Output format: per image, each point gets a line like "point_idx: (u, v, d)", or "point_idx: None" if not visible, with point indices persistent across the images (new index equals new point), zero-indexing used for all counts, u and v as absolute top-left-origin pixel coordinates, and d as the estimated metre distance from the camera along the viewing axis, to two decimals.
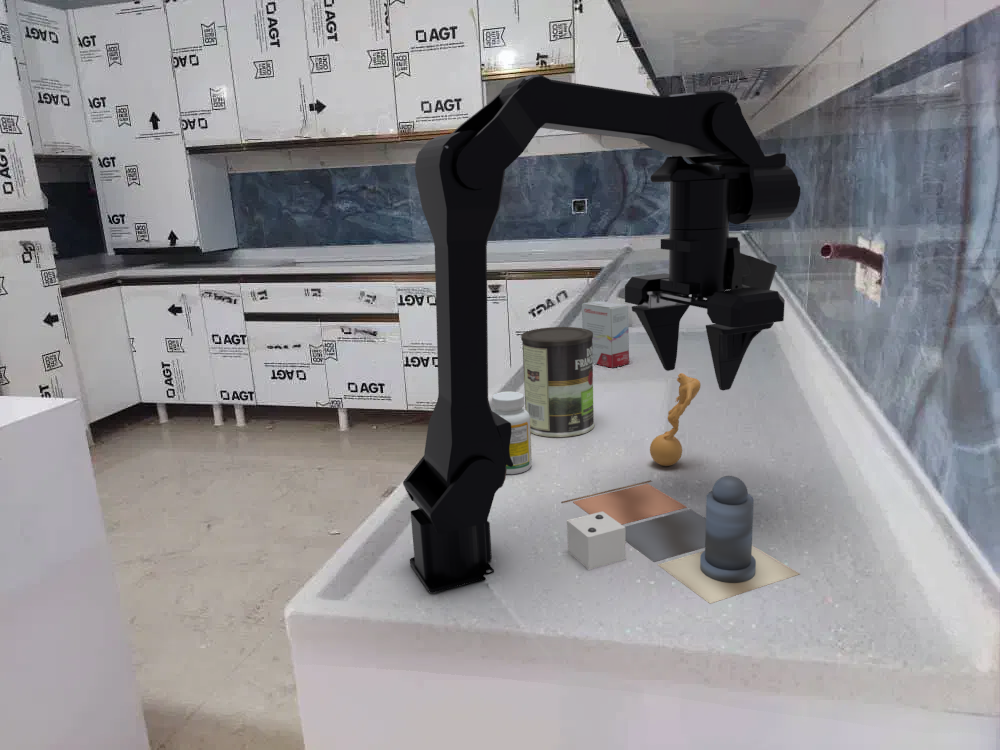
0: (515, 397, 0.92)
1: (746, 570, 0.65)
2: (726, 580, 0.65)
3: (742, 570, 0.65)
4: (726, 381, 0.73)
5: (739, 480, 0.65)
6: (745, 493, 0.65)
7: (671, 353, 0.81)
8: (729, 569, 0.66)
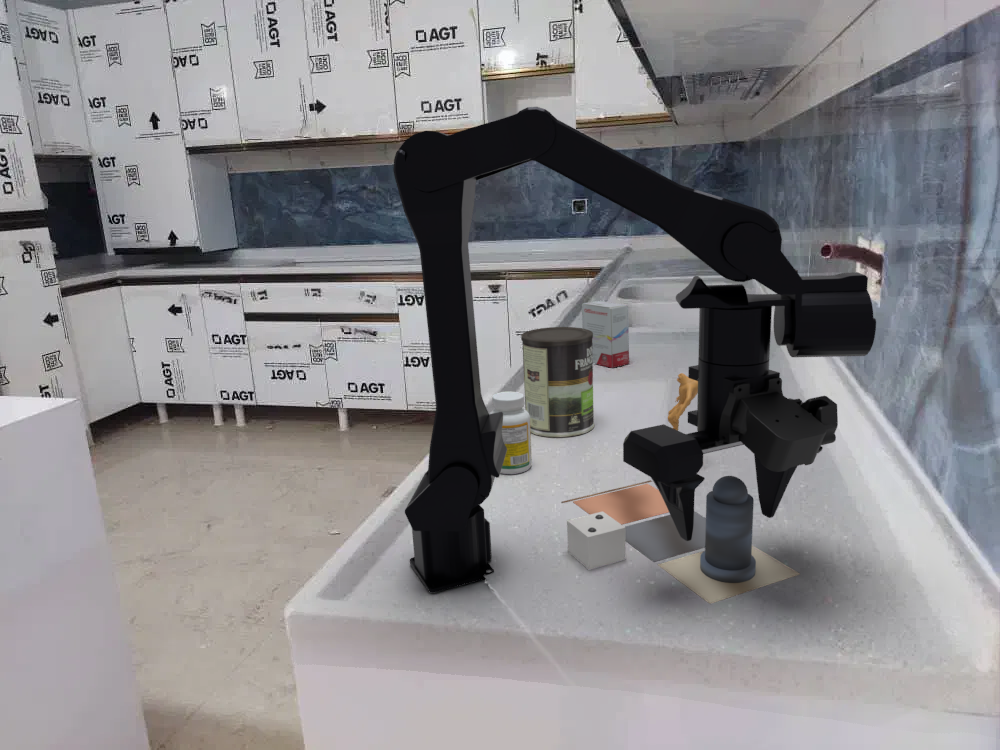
0: (515, 397, 0.92)
1: (746, 570, 0.65)
2: (726, 580, 0.65)
3: (742, 570, 0.65)
4: (679, 528, 0.65)
5: (739, 480, 0.65)
6: (745, 493, 0.65)
7: (768, 497, 0.68)
8: (729, 569, 0.66)
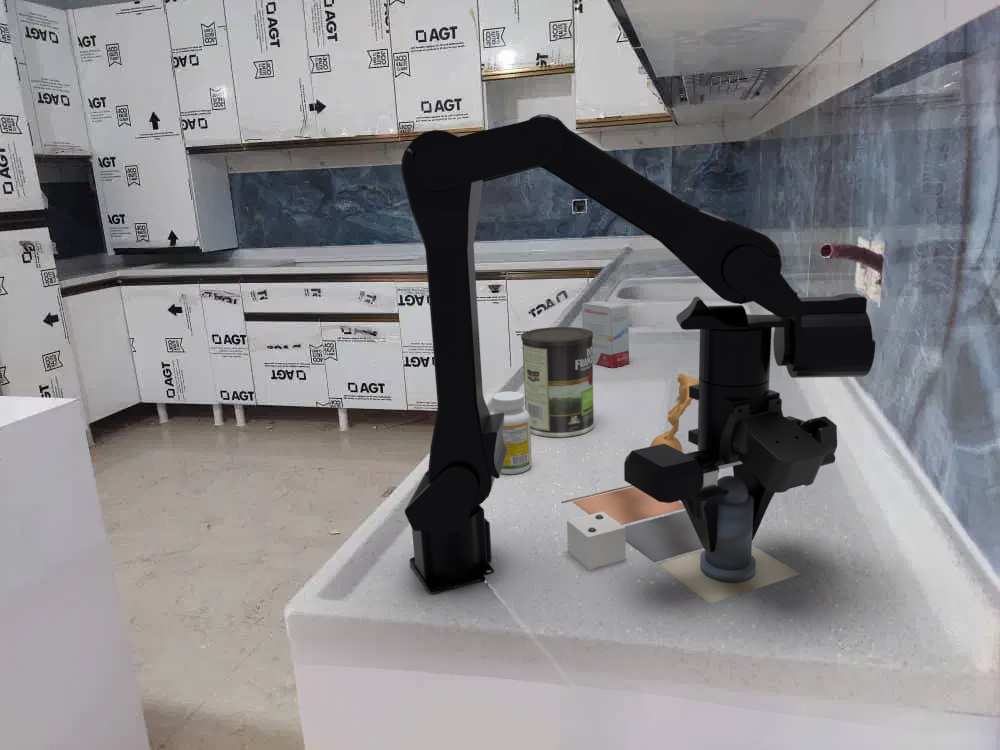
0: (515, 397, 0.92)
1: (746, 570, 0.65)
2: (726, 580, 0.65)
3: (742, 570, 0.65)
4: (702, 540, 0.66)
5: (739, 480, 0.65)
6: (745, 493, 0.65)
7: None
8: (729, 569, 0.66)
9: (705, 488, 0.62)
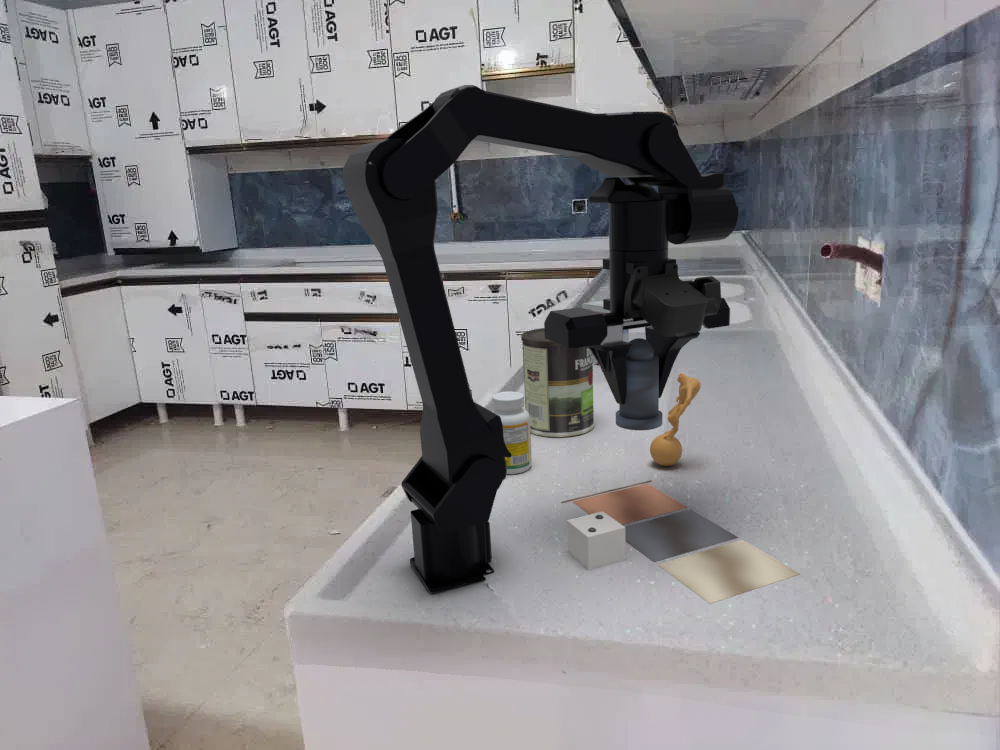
0: (515, 397, 0.92)
1: (652, 419, 0.75)
2: (634, 428, 0.75)
3: (648, 419, 0.75)
4: (615, 394, 0.76)
5: (646, 341, 0.75)
6: (651, 351, 0.75)
7: None
8: (637, 419, 0.76)
9: (611, 341, 0.72)
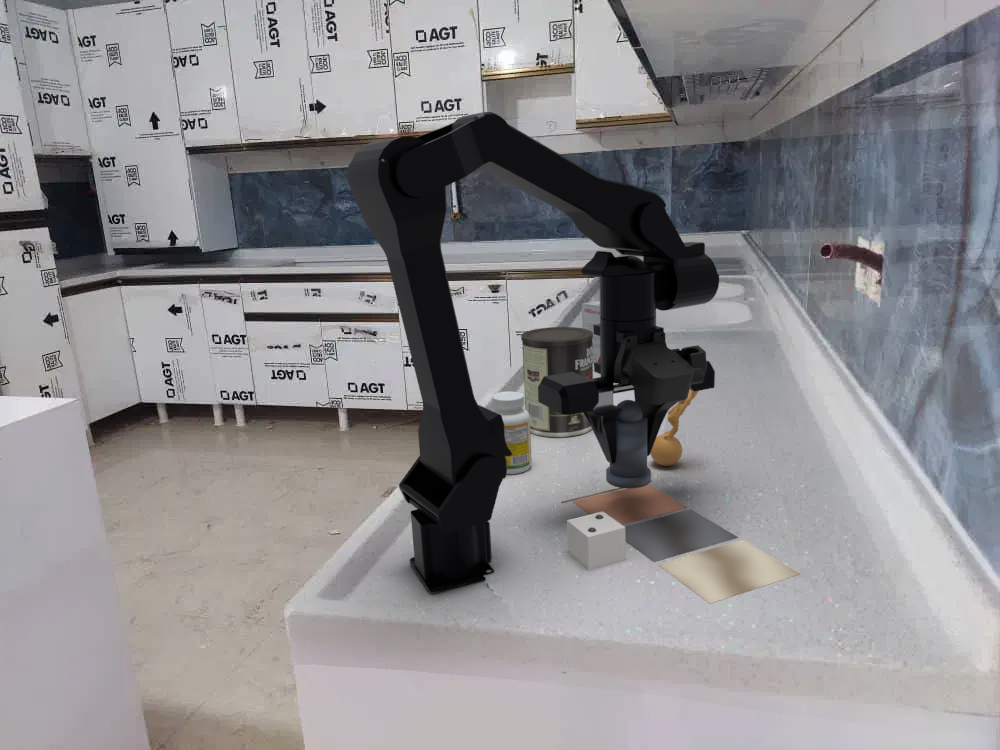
0: (515, 397, 0.92)
1: (641, 478, 0.79)
2: (624, 486, 0.79)
3: (637, 478, 0.79)
4: (605, 453, 0.79)
5: (635, 403, 0.79)
6: (639, 413, 0.78)
7: None
8: (627, 477, 0.79)
9: (602, 406, 0.75)
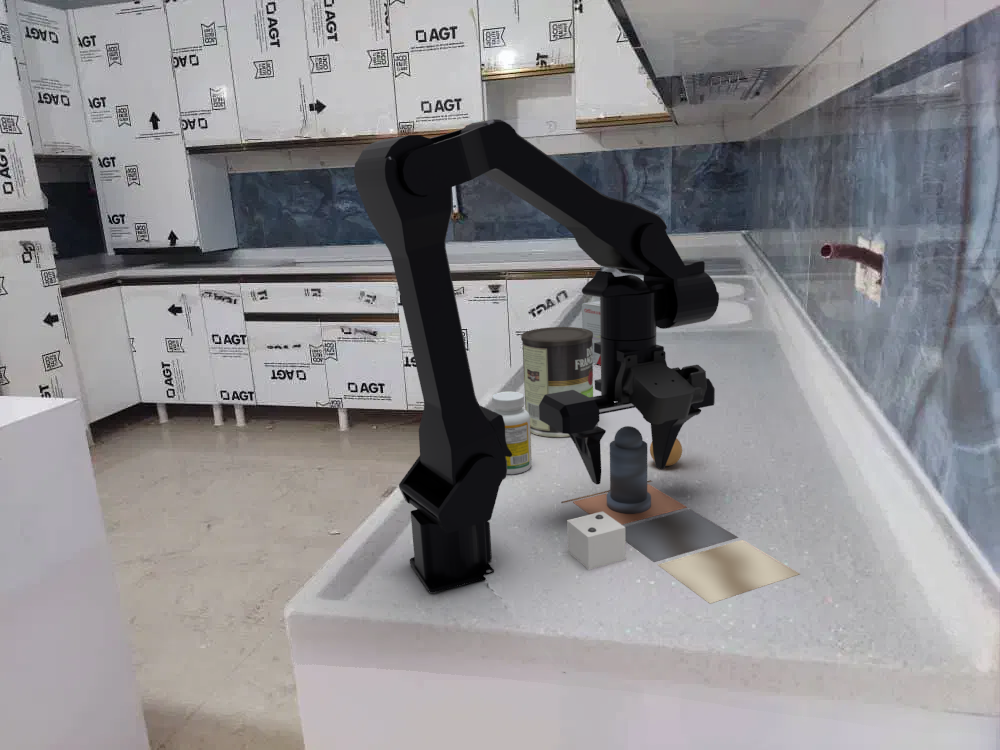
0: (515, 397, 0.92)
1: (641, 503, 0.80)
2: (625, 511, 0.80)
3: (638, 503, 0.80)
4: (590, 474, 0.79)
5: (635, 429, 0.79)
6: (639, 440, 0.79)
7: (659, 452, 0.82)
8: (627, 503, 0.80)
9: None
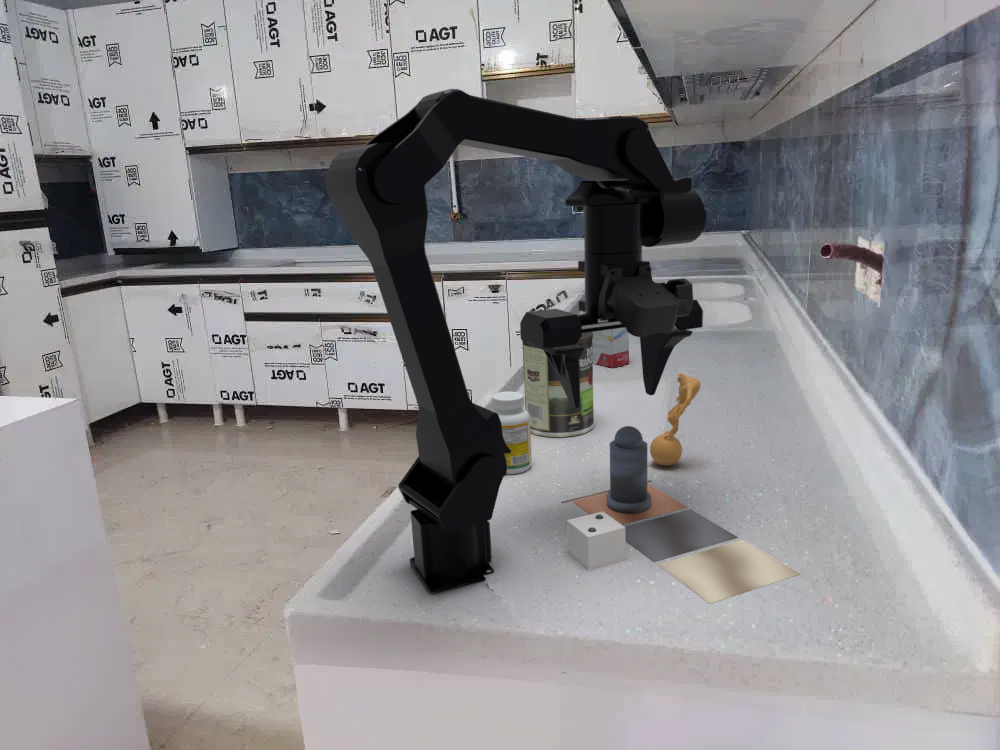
0: (515, 397, 0.92)
1: (641, 503, 0.80)
2: (625, 511, 0.80)
3: (637, 503, 0.80)
4: (569, 398, 0.76)
5: (635, 429, 0.79)
6: (640, 440, 0.79)
7: (649, 377, 0.79)
8: (627, 503, 0.80)
9: None
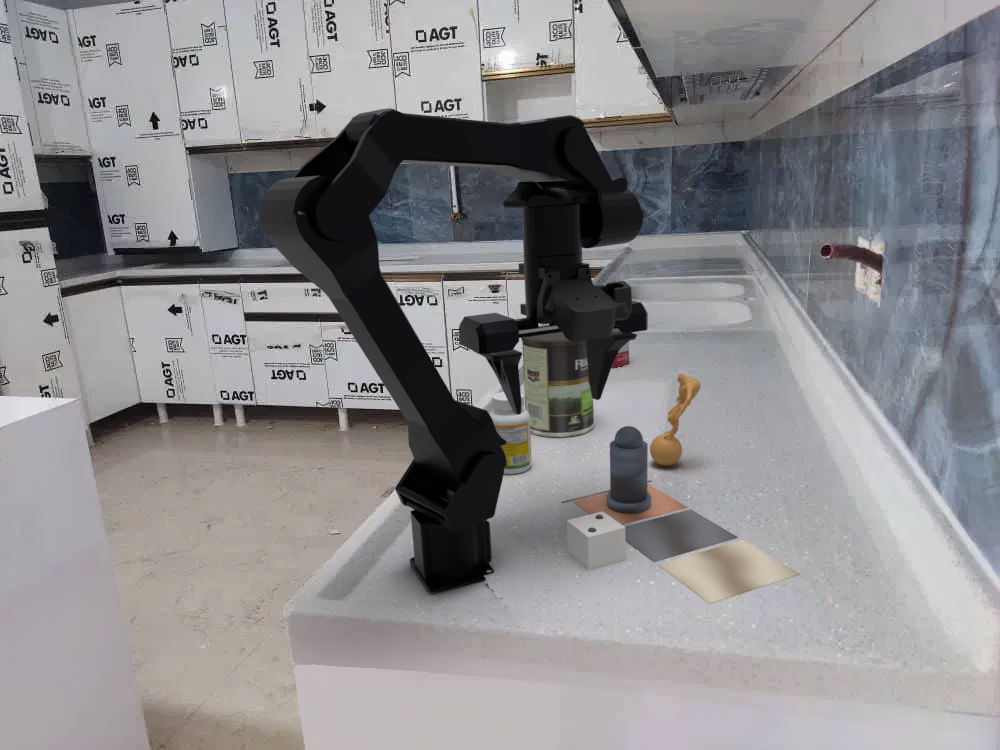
0: None
1: (641, 503, 0.80)
2: (625, 511, 0.80)
3: (637, 503, 0.80)
4: (511, 404, 0.75)
5: (635, 429, 0.79)
6: (640, 440, 0.79)
7: (595, 382, 0.78)
8: (627, 503, 0.80)
9: None
